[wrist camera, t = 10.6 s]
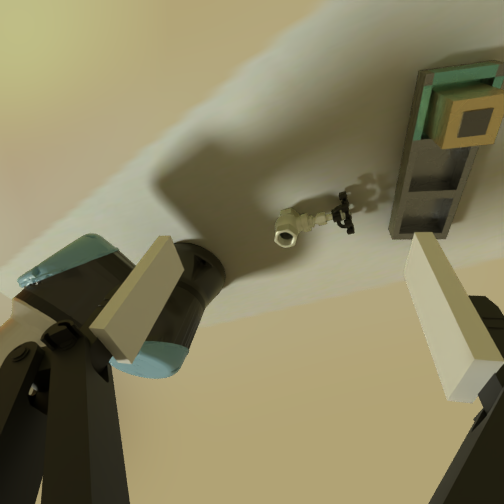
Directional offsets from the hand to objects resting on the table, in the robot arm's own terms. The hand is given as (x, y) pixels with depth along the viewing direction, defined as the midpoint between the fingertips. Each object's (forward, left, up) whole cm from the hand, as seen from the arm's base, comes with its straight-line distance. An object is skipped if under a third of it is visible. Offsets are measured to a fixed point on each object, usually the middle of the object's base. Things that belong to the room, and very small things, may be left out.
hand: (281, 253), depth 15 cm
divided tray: (+17, -7, -29) cm, 34 cm away
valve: (+1, -14, -29) cm, 32 cm away
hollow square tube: (+17, 0, -28) cm, 33 cm away
